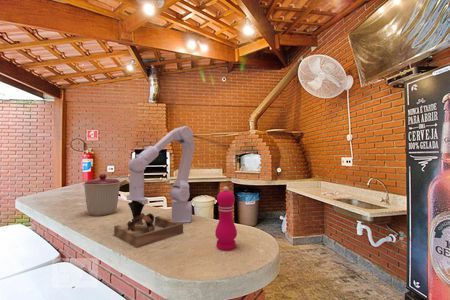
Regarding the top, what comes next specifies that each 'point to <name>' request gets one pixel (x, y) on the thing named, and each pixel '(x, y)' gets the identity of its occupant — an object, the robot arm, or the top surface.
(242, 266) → the top surface
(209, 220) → the top surface
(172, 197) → the robot arm
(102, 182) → the canister
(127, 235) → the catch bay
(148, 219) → the brown ring with stem
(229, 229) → the pepper mill
